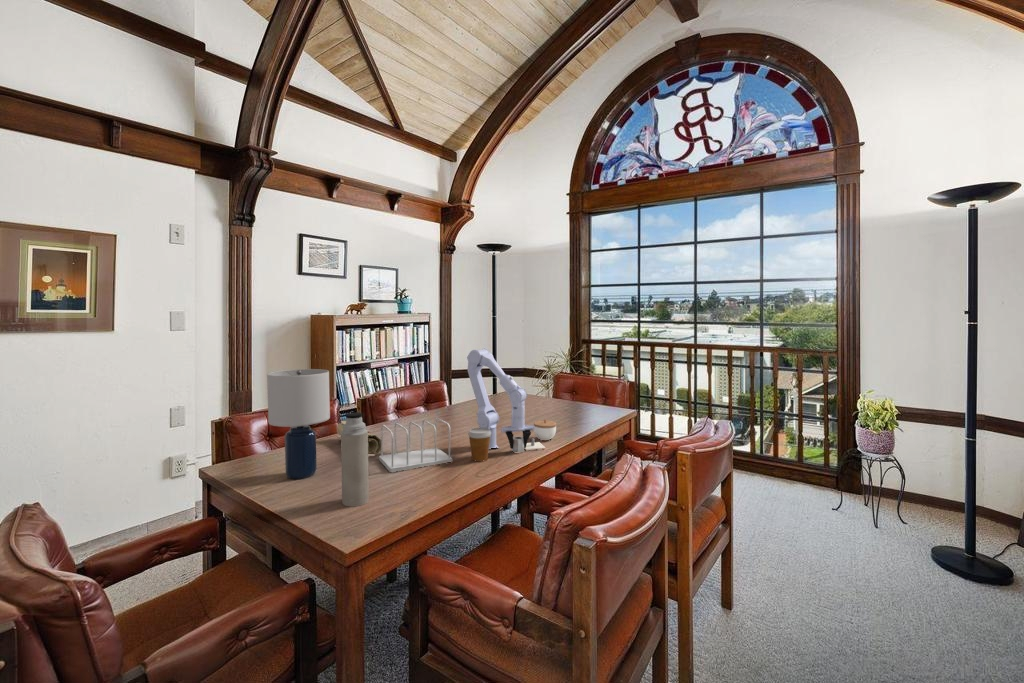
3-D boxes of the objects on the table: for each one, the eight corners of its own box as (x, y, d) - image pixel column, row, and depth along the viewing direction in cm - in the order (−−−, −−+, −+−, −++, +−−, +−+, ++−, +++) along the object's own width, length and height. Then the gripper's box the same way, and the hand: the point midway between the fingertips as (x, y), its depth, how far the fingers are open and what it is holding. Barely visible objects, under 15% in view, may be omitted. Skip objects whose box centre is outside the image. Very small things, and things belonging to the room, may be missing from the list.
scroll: (358, 433, 218) (350, 415, 215) (387, 449, 192) (378, 429, 189) (338, 445, 212) (329, 427, 209) (365, 463, 186) (355, 443, 183)
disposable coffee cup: (464, 457, 186) (464, 429, 186) (485, 454, 191) (485, 426, 190) (473, 464, 178) (473, 434, 177) (495, 461, 182) (495, 431, 182)
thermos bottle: (347, 496, 146) (345, 411, 145) (371, 496, 146) (370, 411, 145) (338, 506, 138) (336, 416, 137) (364, 506, 139) (363, 416, 137)
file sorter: (390, 473, 168) (389, 432, 167) (378, 460, 183) (378, 422, 182) (452, 462, 181) (452, 424, 180) (437, 451, 196) (436, 416, 195)
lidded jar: (531, 441, 211) (531, 421, 211) (536, 435, 222) (536, 416, 221) (553, 443, 208) (553, 423, 208) (558, 437, 218) (558, 418, 218)
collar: (513, 453, 192) (513, 440, 191) (510, 450, 197) (510, 436, 196) (525, 452, 193) (525, 439, 193) (522, 449, 198) (522, 436, 198)
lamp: (274, 469, 172) (271, 368, 170) (331, 463, 179) (329, 366, 177) (266, 488, 153) (262, 374, 151) (330, 481, 160) (328, 372, 158)
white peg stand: (526, 451, 195) (526, 442, 195) (520, 445, 204) (520, 436, 204) (545, 449, 198) (545, 440, 197) (539, 444, 206) (539, 435, 206)
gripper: (504, 419, 188) (504, 451, 189) (537, 417, 192) (536, 449, 193) (500, 416, 195) (500, 447, 196) (531, 414, 199) (531, 444, 199)
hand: (518, 447), depth 195 cm, fingers closed on collar, 5 cm apart
